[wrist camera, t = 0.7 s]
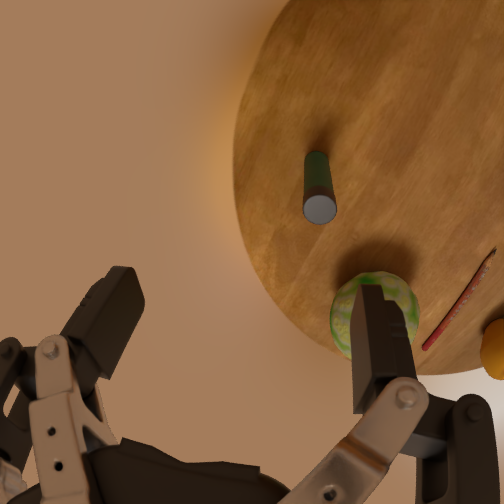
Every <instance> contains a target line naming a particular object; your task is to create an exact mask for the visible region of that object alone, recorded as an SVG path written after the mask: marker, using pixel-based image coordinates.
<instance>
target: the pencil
mask: <svg viewBox="0 0 504 504" xmlns="http://www.w3.org/2000/svg"><path fill="white" fill-rule="evenodd" d="M495 252H496V249H495V250H494V251H493V252H492V253H491V254H490V255H489V257H488V258H487V259H486V260H485V261H484V262H483V264H482V265H481V267H480V268H479V270H478V271H477V273H476V275H475V276H474V278H473V279H472V281H471V282H470V284H469V285H468V287H467V288H466V289H465V291H464V292H463V294H462V295H461V297H460V298H459V299H458V301H457V302H456V304H455V305H454V306H453V308H452V309H451V310H450V312H449V313H448V314H447V316H446V317H445V318H444V320H443V321H442V322H441V324H440V325H439V326H438V327H437V329H436V330H435V331H434V332H433V334H432V335H431V336H430V337H429V339H428V340H427V341H426V342H425V344H424V345H423V346H422V350H423V351H427V350H428V348H429V347H430V346H431V345H432V344H433V343H434V341H435V340H436V339H437V338H438V337H439V335H440V334H441V333H442V332H443V331H444V329H445V328H446V327H447V326H448V324H449V323H450V322H451V320H452V319H453V318H454V317H455V315H456V314H457V313H458V311H459V310H460V309H461V307H462V306H463V305H464V303H465V302H466V301H467V299H468V298H469V297H470V295H471V294H472V292H473V291H474V289H475V288H476V287H477V285H478V284H479V282H480V281H481V279H482V278H483V276H484V275H485V273H486V272H487V270H488V269H489V267H490V264H491V262H492V259H493V257H494V254H495Z"/></svg>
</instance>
